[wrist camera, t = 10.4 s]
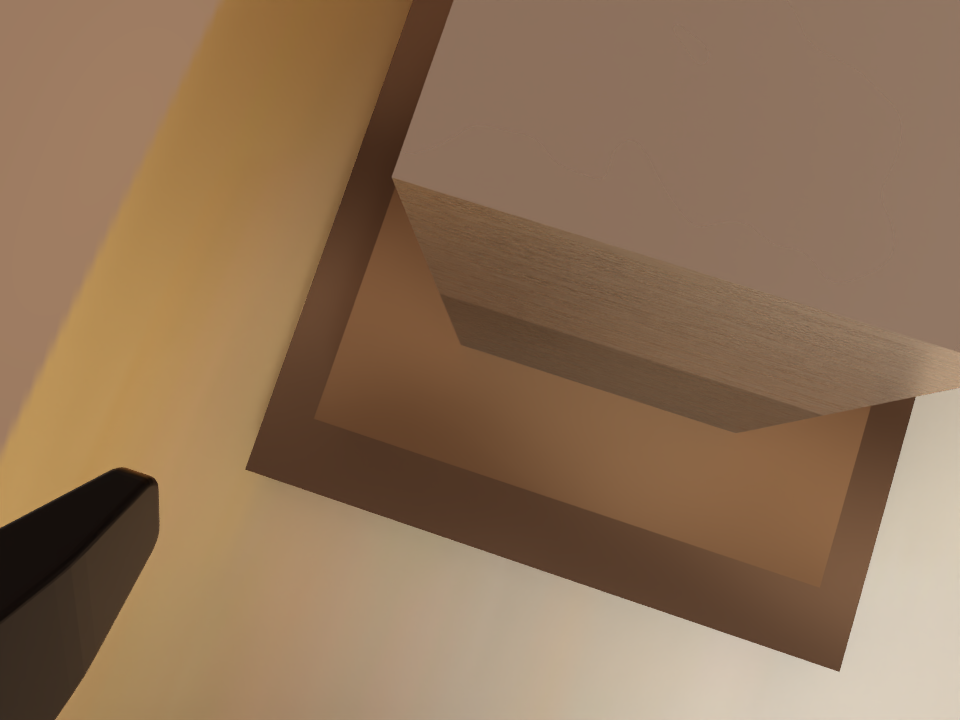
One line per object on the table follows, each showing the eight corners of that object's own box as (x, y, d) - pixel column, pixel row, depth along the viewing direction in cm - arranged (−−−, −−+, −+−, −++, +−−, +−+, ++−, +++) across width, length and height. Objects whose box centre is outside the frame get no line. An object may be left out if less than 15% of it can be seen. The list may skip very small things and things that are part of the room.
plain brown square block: (736, 432, 17) (1028, 374, 7) (460, 345, 18) (391, 177, 8) (815, 165, 18) (1182, -217, 8) (547, 86, 18) (583, -372, 8)
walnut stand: (822, 662, 20) (877, 694, 17) (258, 469, 21) (215, 468, 18) (977, 107, 21) (1053, 46, 18) (442, -48, 22) (431, -129, 19)
